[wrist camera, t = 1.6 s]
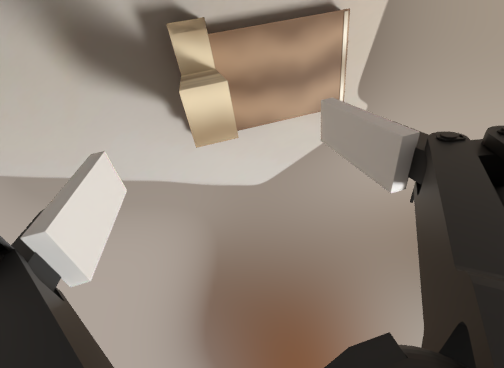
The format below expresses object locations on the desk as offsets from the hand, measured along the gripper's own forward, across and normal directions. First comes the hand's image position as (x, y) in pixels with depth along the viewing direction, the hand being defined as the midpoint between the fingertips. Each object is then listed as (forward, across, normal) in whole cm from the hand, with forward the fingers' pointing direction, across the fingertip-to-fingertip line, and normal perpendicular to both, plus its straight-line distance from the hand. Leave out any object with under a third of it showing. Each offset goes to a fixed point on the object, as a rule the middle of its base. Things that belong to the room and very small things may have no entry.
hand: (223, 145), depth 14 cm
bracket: (+20, 0, +1) cm, 20 cm away
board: (+21, +9, 0) cm, 22 cm away
